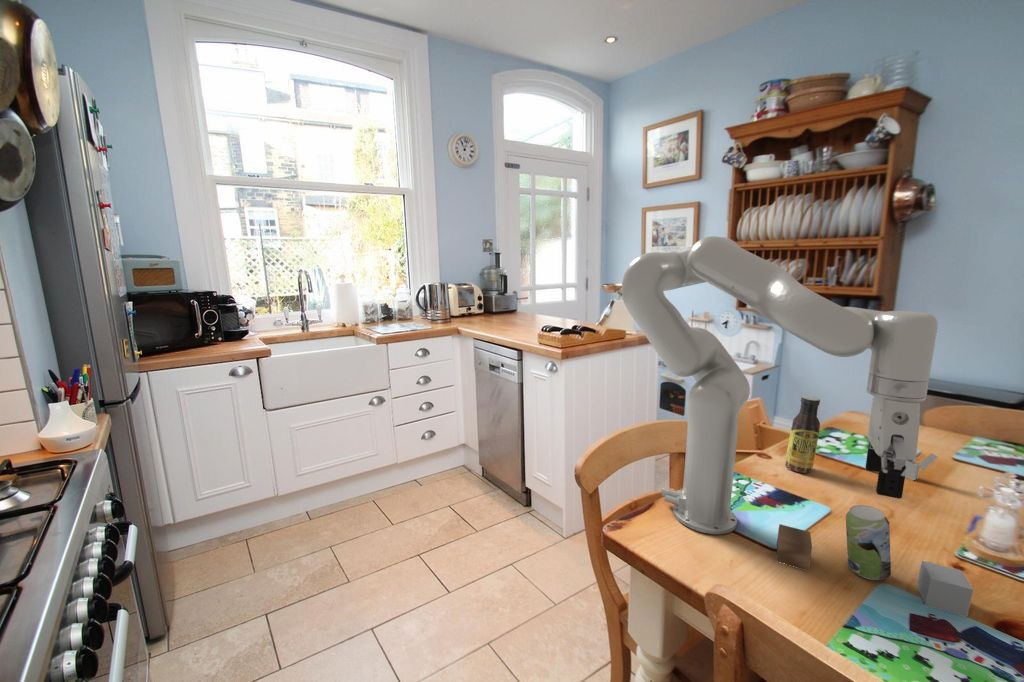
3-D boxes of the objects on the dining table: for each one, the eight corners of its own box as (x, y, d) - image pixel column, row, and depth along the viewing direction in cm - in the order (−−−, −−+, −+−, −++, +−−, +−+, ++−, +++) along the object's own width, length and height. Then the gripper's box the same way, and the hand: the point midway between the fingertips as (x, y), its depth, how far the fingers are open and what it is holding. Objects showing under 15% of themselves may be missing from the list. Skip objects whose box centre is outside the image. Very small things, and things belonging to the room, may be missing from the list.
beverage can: (897, 587, 77) (909, 524, 75) (849, 581, 78) (859, 519, 76) (876, 563, 83) (886, 504, 81) (831, 558, 84) (840, 499, 82)
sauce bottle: (787, 472, 118) (796, 399, 114) (782, 462, 124) (791, 392, 120) (816, 476, 116) (827, 402, 112) (810, 466, 121) (820, 395, 118)
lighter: (894, 474, 117) (899, 445, 115) (897, 473, 118) (902, 444, 116) (930, 486, 111) (936, 456, 109) (932, 484, 112) (938, 454, 110)
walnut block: (776, 562, 83) (779, 537, 82) (776, 547, 88) (779, 524, 87) (808, 571, 81) (812, 546, 80) (806, 555, 85) (810, 531, 84)
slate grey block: (925, 605, 73) (930, 578, 72) (916, 586, 78) (921, 560, 77) (966, 617, 71) (973, 589, 70) (955, 597, 75) (961, 570, 74)
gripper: (944, 404, 65) (925, 513, 68) (912, 377, 80) (898, 467, 83) (878, 397, 68) (863, 500, 72) (859, 372, 83) (847, 459, 86)
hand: (882, 482), depth 77 cm, fingers open, 9 cm apart
